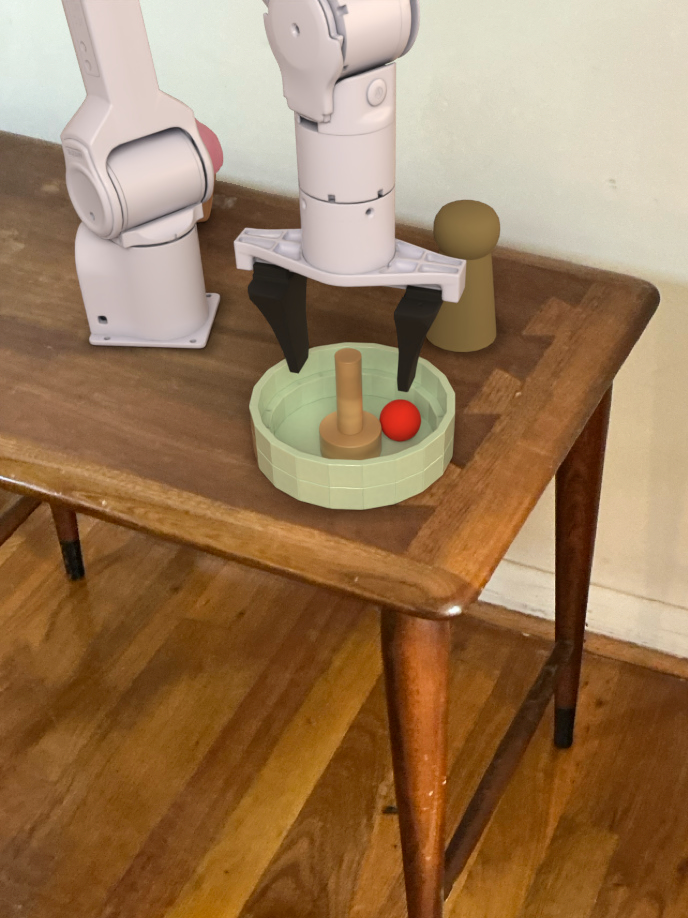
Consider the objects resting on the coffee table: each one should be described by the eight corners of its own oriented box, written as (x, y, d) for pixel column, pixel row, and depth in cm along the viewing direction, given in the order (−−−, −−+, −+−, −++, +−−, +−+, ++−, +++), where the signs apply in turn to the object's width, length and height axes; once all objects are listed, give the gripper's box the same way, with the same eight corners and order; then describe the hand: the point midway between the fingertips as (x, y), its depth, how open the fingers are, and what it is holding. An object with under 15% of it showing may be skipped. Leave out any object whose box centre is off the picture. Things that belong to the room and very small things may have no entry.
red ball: (376, 442, 72) (381, 399, 72) (377, 435, 75) (382, 394, 75) (419, 446, 73) (423, 404, 72) (418, 439, 75) (422, 399, 75)
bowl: (242, 512, 69) (235, 461, 66) (269, 389, 80) (264, 339, 77) (451, 519, 69) (455, 468, 66) (452, 394, 79) (455, 345, 76)
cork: (491, 356, 83) (502, 230, 76) (418, 347, 84) (421, 221, 76) (501, 317, 88) (512, 194, 80) (431, 308, 88) (436, 186, 81)
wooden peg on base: (311, 439, 74) (305, 345, 69) (367, 424, 76) (365, 331, 70) (333, 475, 71) (329, 380, 66) (391, 459, 73) (391, 365, 67)
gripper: (482, 169, 62) (469, 359, 71) (256, 139, 64) (272, 326, 74) (454, 222, 57) (445, 418, 66) (211, 188, 60) (235, 381, 69)
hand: (352, 374), depth 70 cm, fingers open, 7 cm apart
